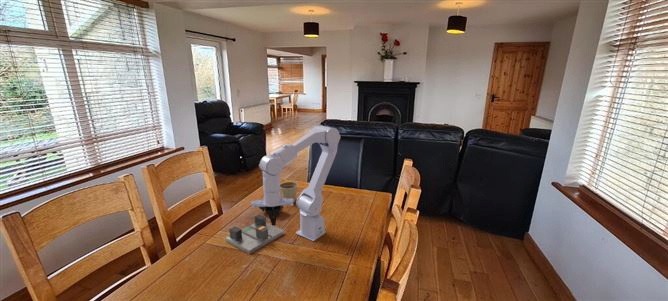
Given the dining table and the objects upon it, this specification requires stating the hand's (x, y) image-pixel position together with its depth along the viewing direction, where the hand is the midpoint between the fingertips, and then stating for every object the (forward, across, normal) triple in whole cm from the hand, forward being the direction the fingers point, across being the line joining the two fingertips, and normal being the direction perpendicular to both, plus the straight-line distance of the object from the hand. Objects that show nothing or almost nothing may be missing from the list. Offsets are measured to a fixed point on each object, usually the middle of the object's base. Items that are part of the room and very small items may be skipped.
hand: (273, 224), depth 104 cm
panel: (+9, +8, -8) cm, 14 cm away
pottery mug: (+10, +3, -28) cm, 29 cm away
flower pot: (+10, -6, -40) cm, 41 cm away
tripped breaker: (+8, +5, -5) cm, 10 cm away
